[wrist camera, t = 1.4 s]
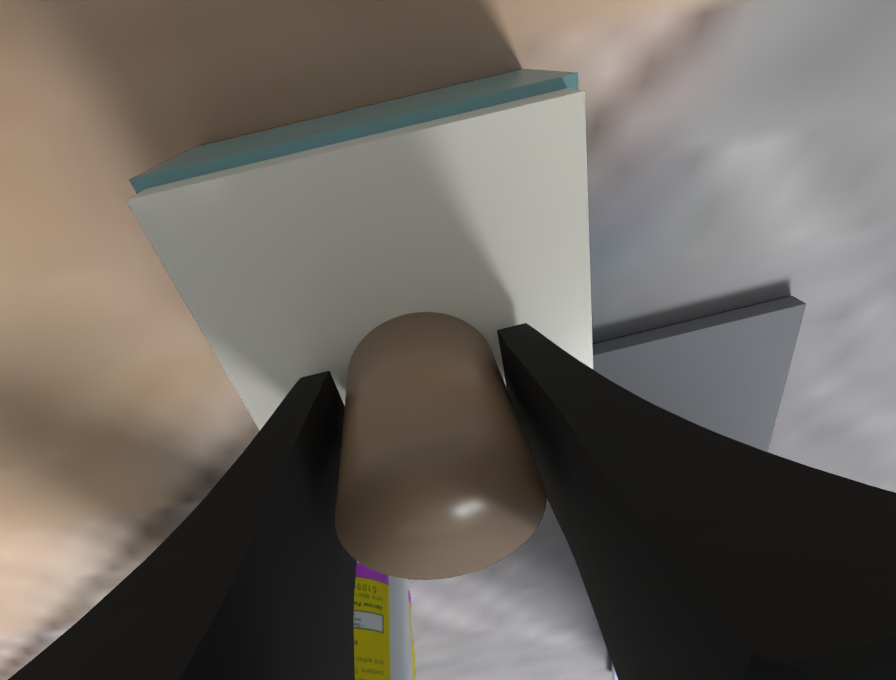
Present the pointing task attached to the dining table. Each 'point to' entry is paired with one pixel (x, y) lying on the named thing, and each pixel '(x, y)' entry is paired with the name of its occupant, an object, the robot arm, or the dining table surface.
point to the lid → (399, 310)
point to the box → (355, 124)
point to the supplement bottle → (382, 627)
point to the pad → (712, 367)
